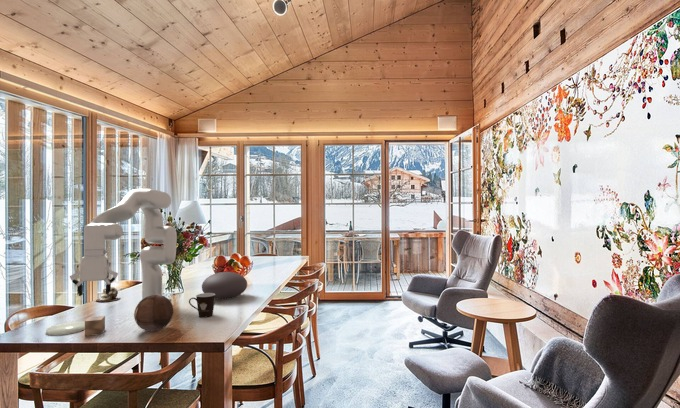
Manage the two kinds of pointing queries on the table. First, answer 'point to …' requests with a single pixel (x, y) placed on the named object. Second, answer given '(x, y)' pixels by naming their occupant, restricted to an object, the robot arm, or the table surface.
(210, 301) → the coffee mug
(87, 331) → the walnut cube
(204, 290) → the flattened ellipsoid
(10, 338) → the table surface
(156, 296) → the wooden sphere
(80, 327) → the sage plate
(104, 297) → the skull
